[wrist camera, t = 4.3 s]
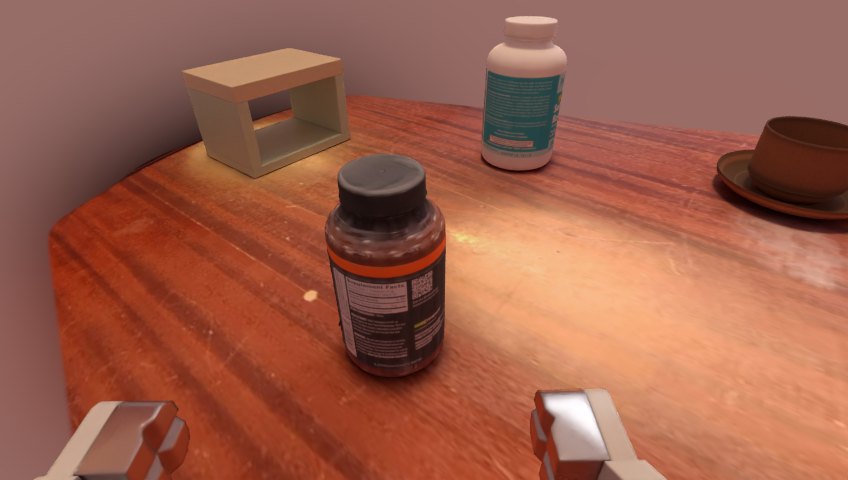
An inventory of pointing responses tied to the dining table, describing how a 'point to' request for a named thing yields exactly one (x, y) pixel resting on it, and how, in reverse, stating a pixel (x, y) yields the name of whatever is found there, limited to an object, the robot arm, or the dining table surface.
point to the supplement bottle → (388, 265)
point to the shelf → (277, 137)
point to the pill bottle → (523, 94)
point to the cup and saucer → (794, 168)
